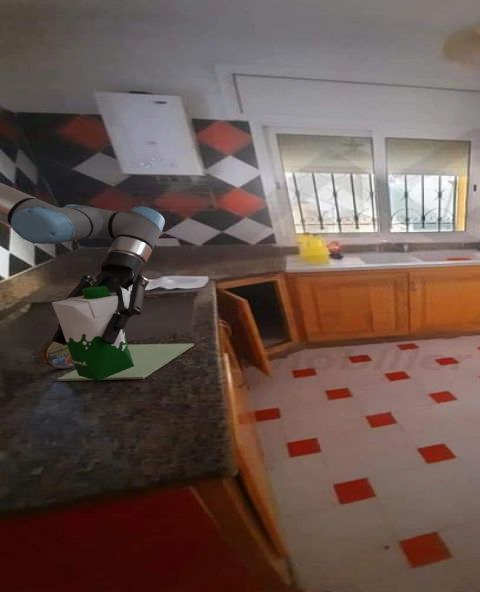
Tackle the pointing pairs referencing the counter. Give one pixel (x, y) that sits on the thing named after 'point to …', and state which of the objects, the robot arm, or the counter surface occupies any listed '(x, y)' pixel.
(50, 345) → the tin
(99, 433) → the counter surface
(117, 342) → the soya milk
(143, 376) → the mat
